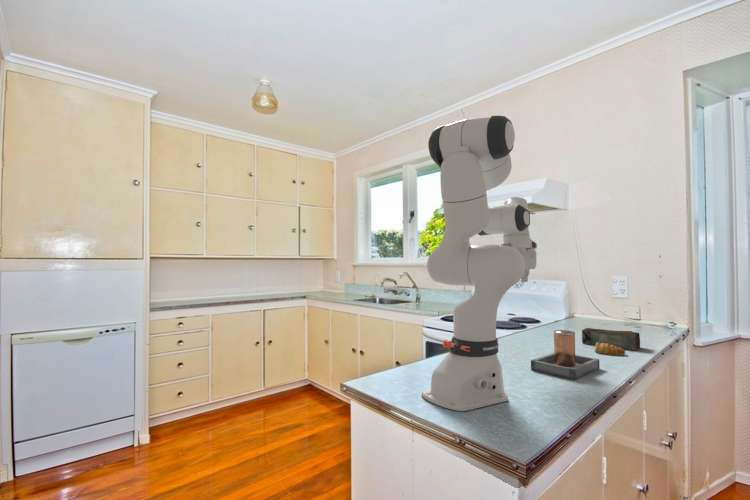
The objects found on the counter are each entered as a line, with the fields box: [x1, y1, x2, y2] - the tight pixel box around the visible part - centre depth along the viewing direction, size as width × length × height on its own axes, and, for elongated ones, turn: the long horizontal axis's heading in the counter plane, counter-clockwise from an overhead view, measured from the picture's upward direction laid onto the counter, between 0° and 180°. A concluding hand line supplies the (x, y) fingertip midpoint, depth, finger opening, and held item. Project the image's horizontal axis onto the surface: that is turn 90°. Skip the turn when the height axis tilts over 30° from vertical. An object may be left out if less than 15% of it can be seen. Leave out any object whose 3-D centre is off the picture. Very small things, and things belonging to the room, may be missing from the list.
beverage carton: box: [581, 327, 641, 351], centre depth 146 cm, size 8×19×7 cm, turn 47°
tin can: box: [553, 329, 576, 368], centre depth 115 cm, size 6×6×11 cm
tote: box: [530, 352, 601, 381], centre depth 114 cm, size 18×13×3 cm
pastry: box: [594, 342, 626, 357], centre depth 134 cm, size 9×7×4 cm
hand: (517, 282), depth 128 cm, fingers open, 8 cm apart
